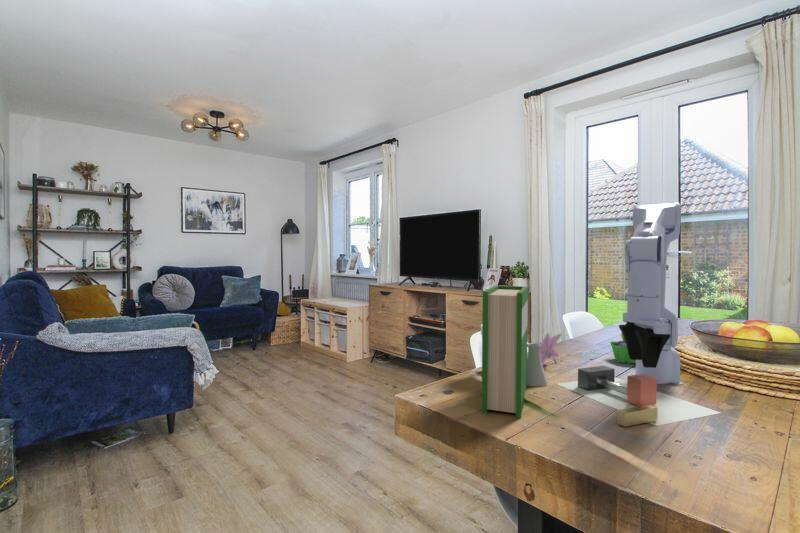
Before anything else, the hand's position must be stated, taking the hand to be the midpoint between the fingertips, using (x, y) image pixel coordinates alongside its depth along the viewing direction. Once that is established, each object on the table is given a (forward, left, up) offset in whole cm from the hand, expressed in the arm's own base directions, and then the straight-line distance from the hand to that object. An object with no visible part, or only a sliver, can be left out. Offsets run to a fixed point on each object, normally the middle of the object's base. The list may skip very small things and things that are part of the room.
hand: (642, 363), depth 81 cm
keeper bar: (+9, +6, -8) cm, 14 cm away
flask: (+11, -20, -10) cm, 24 cm away
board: (-2, -4, -9) cm, 10 cm away
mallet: (0, -7, -8) cm, 11 cm away
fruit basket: (-32, -28, -10) cm, 44 cm away
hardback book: (+23, -14, -10) cm, 28 cm away
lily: (-3, -32, -10) cm, 33 cm away
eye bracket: (0, -12, -8) cm, 14 cm away
